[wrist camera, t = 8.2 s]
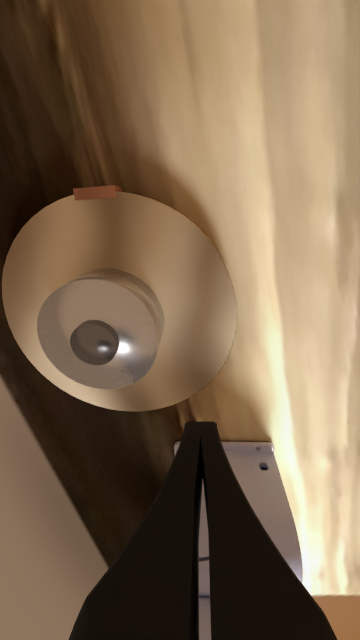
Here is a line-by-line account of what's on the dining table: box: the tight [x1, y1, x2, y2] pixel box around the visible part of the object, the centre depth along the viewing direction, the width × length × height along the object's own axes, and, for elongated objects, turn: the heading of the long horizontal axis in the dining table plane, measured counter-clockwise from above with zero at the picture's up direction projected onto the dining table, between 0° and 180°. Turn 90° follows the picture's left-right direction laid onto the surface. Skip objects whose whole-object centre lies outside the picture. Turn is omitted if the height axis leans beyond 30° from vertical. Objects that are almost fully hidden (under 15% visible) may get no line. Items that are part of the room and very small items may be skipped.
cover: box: [37, 268, 164, 389], centre depth 16 cm, size 7×7×4 cm
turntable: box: [2, 185, 237, 411], centre depth 18 cm, size 16×16×2 cm
